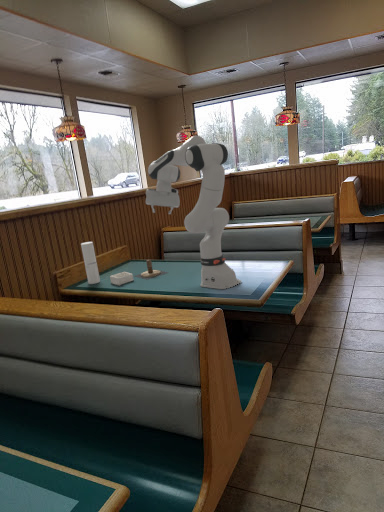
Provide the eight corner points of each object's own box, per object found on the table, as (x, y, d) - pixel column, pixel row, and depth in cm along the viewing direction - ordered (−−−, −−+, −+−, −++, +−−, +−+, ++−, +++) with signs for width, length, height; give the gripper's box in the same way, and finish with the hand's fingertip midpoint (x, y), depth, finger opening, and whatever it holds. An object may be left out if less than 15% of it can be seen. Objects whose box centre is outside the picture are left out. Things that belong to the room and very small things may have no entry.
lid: (164, 273, 235) (162, 258, 233) (147, 278, 228) (145, 263, 226) (153, 270, 245) (151, 257, 243) (137, 275, 238) (135, 261, 236)
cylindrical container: (98, 283, 234) (90, 243, 228) (87, 284, 234) (79, 244, 228) (101, 279, 240) (94, 241, 235) (90, 281, 241) (82, 242, 235)
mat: (168, 273, 235) (168, 272, 235) (146, 280, 226) (146, 279, 225) (154, 270, 247) (154, 269, 247) (133, 276, 238) (133, 276, 238)
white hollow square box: (133, 280, 228) (132, 273, 227) (118, 285, 222) (117, 278, 221) (125, 278, 236) (124, 271, 235) (111, 283, 230) (109, 275, 229)
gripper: (146, 187, 222) (144, 210, 221) (181, 190, 225) (179, 213, 224) (145, 189, 228) (143, 212, 227) (179, 193, 231) (178, 215, 230)
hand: (161, 213), depth 225 cm, fingers open, 8 cm apart
